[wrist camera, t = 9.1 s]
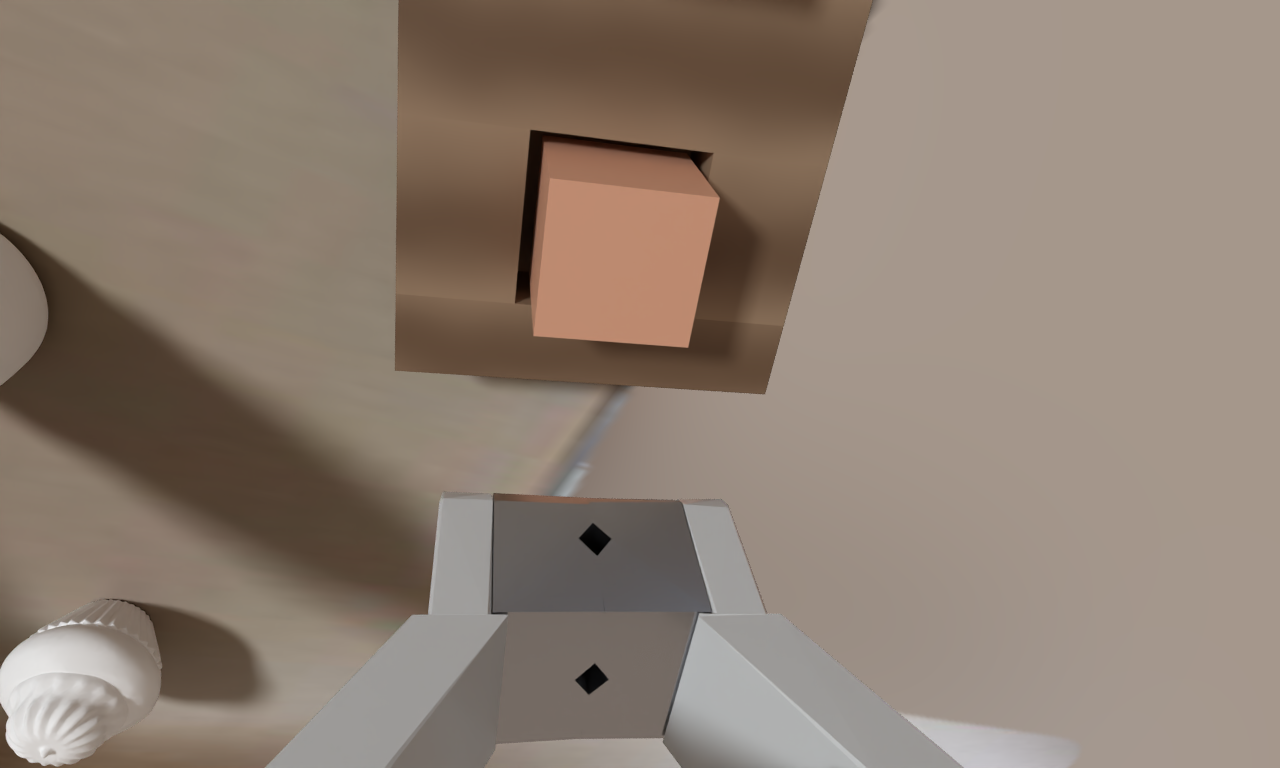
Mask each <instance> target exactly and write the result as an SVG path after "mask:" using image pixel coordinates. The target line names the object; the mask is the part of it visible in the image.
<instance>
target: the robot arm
mask: <svg viewBox="0 0 1280 768" xmlns="http://www.w3.org/2000/svg"><path fill="white" fill-rule="evenodd" d="M580 738H581V739H606V738H664V739H663V743H664V745H665V746H666V747H667V749H668V750H669V751H670V753H671V754H672V755H673V757H674V758H675V759H676V761H677V762H678V763H679V765H680V766H681V767H682V768H964V767H962V766H961V765H960V764H959V763H958V762H957V761H955V760H954V759H953V758H952V757H951V756H949V755H948V754H947V753H946V752H945V751H943V750H942V749H941V748H940V747H939V746H938V745H936V744H935V743H934V742H933V741H932V740H930V739H929V738H928V737H927V736H926V735H924V734H923V733H922V732H921V731H920V730H918V729H917V728H916V727H915V726H914V725H913V724H911V723H910V722H909V721H908V720H907V719H905V718H904V717H903V716H902V715H901V714H899V713H898V712H897V711H896V710H895V709H894V708H892V707H891V706H890V705H889V704H888V703H886V702H885V701H884V700H883V699H882V698H880V697H879V696H878V695H877V694H876V693H875V692H873V691H872V690H871V689H870V688H868V687H867V686H866V685H865V684H864V683H863V682H861V681H860V680H859V679H857V677H855V676H854V675H853V674H852V673H851V672H850V671H848V670H847V669H846V668H845V667H843V666H842V665H841V664H840V663H839V662H838V661H836V660H835V659H834V658H833V657H832V656H830V655H829V654H828V653H827V652H826V651H824V650H823V649H822V648H821V647H820V646H819V645H817V644H816V643H815V642H814V641H813V640H811V639H810V638H809V637H808V636H807V635H806V634H804V633H803V632H802V631H801V630H799V629H798V628H797V627H796V626H795V625H794V624H792V623H791V622H790V621H789V620H788V619H787V618H785V617H784V616H783V615H782V614H767V611H766V609H765V606H764V603H763V600H762V597H761V595H760V592H759V589H758V586H757V583H756V581H755V578H754V575H753V572H752V570H751V567H750V564H749V561H748V558H747V556H746V553H745V550H744V547H743V545H742V542H741V539H740V536H739V534H738V531H737V528H736V525H735V522H734V520H733V517H732V514H731V511H730V509H729V506H728V505H727V504H726V503H725V502H724V501H723V500H722V499H678V500H677V501H676V500H653V499H651V500H650V499H649V500H648V499H606V498H578V497H558V496H538V495H519V494H499V493H494V494H493V499H492V495H491V494H484V493H462V492H443V493H442V496H441V499H440V502H439V512H438V522H437V532H436V541H435V551H434V561H433V571H432V580H431V590H430V600H429V610H428V615H411V616H410V617H409V618H408V620H407V621H406V622H405V623H404V624H403V625H402V626H401V627H400V628H399V629H398V630H397V631H396V632H395V633H394V634H393V635H392V636H391V637H390V638H389V639H388V640H387V641H386V642H385V643H384V644H383V646H382V647H381V648H380V649H379V650H378V651H377V652H376V653H375V654H374V655H373V656H372V657H371V658H370V659H369V660H368V661H367V662H366V663H365V664H364V665H363V666H362V667H361V668H360V669H359V670H358V672H357V673H356V674H355V675H354V676H353V677H352V678H351V679H350V680H349V681H348V682H347V683H346V684H345V685H344V686H343V687H342V688H341V689H340V690H339V691H338V692H337V693H336V694H335V695H334V696H333V698H332V699H331V700H330V701H329V702H328V703H327V704H326V705H325V706H324V707H323V708H322V709H321V710H320V711H319V712H318V713H317V714H316V715H315V716H314V717H313V718H312V719H311V720H310V721H309V722H308V724H307V725H306V726H305V727H304V728H303V729H302V730H301V731H300V732H299V733H298V734H297V735H296V736H295V737H294V738H293V739H292V740H291V741H290V742H289V743H288V744H287V745H286V746H285V747H284V749H283V750H282V751H281V752H280V753H279V754H278V755H277V756H276V757H275V758H274V759H273V760H272V761H271V762H270V763H269V764H268V765H267V766H266V767H265V768H484V767H485V765H486V764H487V762H488V760H489V759H490V757H491V755H492V754H493V752H494V751H495V745H496V744H502V743H518V742H534V741H550V740H566V739H580Z"/></svg>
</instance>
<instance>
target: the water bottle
mask: <svg viewBox="0 0 1280 768" xmlns="http://www.w3.org/2000/svg"><path fill="white" fill-rule="evenodd" d="M47 324H48V305H47V299H46V296H45V292H44V289H43V287H42V284H41V282H40V280H39V278H38V276H37V274H36V273H35V271H34V269H33V268H32V266H31V265H30V263H29V262H28V261H27V259H26V258H25V257H24V256H23V254H22V253H21V252H20V251H19V250H18V249H17V248H16V247H15V246H14V245H13V244H12V243H11V242H10V241H9V240H8V239H6V238H5V237H4V236H3V235H1V234H0V386H1V385H2V384H3V383H4V382H6V381H7V380H8V379H9V378H10V377H12V376H13V375H14V374H15V373H16V372H17V371H18V370H19V369H20V368H22V367H23V366H24V365H25V364H26V363H27V362H28V361H29V360H30V359H31V357H32V356H33V355H34V354H35V352H36V351H37V350H38V348H39V347H40V345H41V343H42V341H43V339H44V336H45V333H46V330H47Z"/></svg>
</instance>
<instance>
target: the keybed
mask: <svg viewBox="0 0 1280 768" xmlns="http://www.w3.org/2000/svg"><path fill="white" fill-rule="evenodd" d="M872 2H873V0H399V13H398V116H397V219H396V322H395V371H410V372H426V373H442V374H457V375H473V376H488V377H504V378H519V379H535V380H551V381H566V382H582V383H597V384H613V385H628V386H644V387H661V388H675V389H691V390H707V391H722V392H739V393H753V394H765V392H766V388H767V385H768V381H769V377H770V373H771V370H772V366H773V363H774V359H775V356H776V352H777V348H778V345H779V341H780V337H781V334H782V330H783V326H784V323H785V319H786V315H787V312H788V308H789V304H790V301H791V297H792V293H793V290H794V286H795V282H796V279H797V275H798V272H799V268H800V264H801V260H802V257H803V253H804V249H805V246H806V242H807V239H808V235H809V231H810V228H811V224H812V220H813V217H814V213H815V210H816V205H817V202H818V199H819V195H820V191H821V188H822V184H823V180H824V176H825V173H826V169H827V166H828V162H829V158H830V155H831V151H832V147H833V144H834V140H835V137H836V133H837V129H838V126H839V122H840V118H841V115H842V111H843V107H844V103H845V100H846V96H847V93H848V89H849V85H850V82H851V78H852V75H853V71H854V67H855V64H856V60H857V56H858V53H859V49H860V45H861V42H862V38H863V34H864V31H865V27H866V23H867V20H868V16H869V12H870V9H871V5H872ZM543 135H545V136H553V137H561V138H569V139H577V140H585V141H593V142H601V143H608V144H616V145H624V146H632V147H640V148H648V149H656V150H664V151H671V152H679V153H687V155H688V156H689V157H690V159H691V160H692V161H693V163H694V164H695V165H696V167H697V168H698V169H699V171H700V172H701V173H702V175H703V176H704V177H705V179H706V180H707V181H708V183H709V184H710V185H711V187H712V188H713V189H714V191H715V192H716V193H717V195H718V196H719V197H720V199H719V204H718V209H717V214H716V218H715V223H714V228H713V232H712V237H711V242H710V247H709V251H708V256H707V261H706V265H705V270H704V275H703V280H702V284H701V289H700V294H699V298H698V303H697V308H696V313H695V317H694V322H693V327H692V331H691V336H690V341H689V346H688V348H686V347H672V346H659V345H646V344H632V343H619V342H606V341H593V340H579V339H566V338H553V337H540V336H533V322H532V308H531V294H530V279H529V270H530V259H531V249H532V239H533V228H534V218H535V208H536V198H537V187H538V177H539V167H540V156H541V146H542V136H543Z"/></svg>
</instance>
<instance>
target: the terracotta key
mask: <svg viewBox="0 0 1280 768" xmlns="http://www.w3.org/2000/svg"><path fill="white" fill-rule="evenodd" d="M719 199H720V197H719V196H718V195H717V193H716V192H715V191H714V189H713V188H712V187H711V185H710V184H709V183H708V181H707V180H706V179H705V177H704V176H703V175H702V173H701V172H700V171H699V169H698V168H697V167H696V165H695V164H694V163H693V161H692V160H691V159H690V157H689V156H688V155H687V153H679V152H671V151H664V150H656V149H648V148H640V147H632V146H624V145H616V144H608V143H601V142H593V141H585V140H577V139H569V138H561V137H553V136H545V135H543V136H542V146H541V156H540V167H539V177H538V187H537V198H536V208H535V218H534V228H533V239H532V249H531V259H530V270H529V279H530V294H531V308H532V322H533V336H540V337H553V338H566V339H579V340H593V341H606V342H619V343H632V344H646V345H659V346H672V347H686V348H688V346H689V341H690V336H691V331H692V327H693V322H694V317H695V313H696V308H697V303H698V298H699V294H700V289H701V284H702V280H703V275H704V270H705V265H706V261H707V256H708V251H709V247H710V242H711V237H712V232H713V228H714V223H715V218H716V214H717V209H718V204H719Z"/></svg>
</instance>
